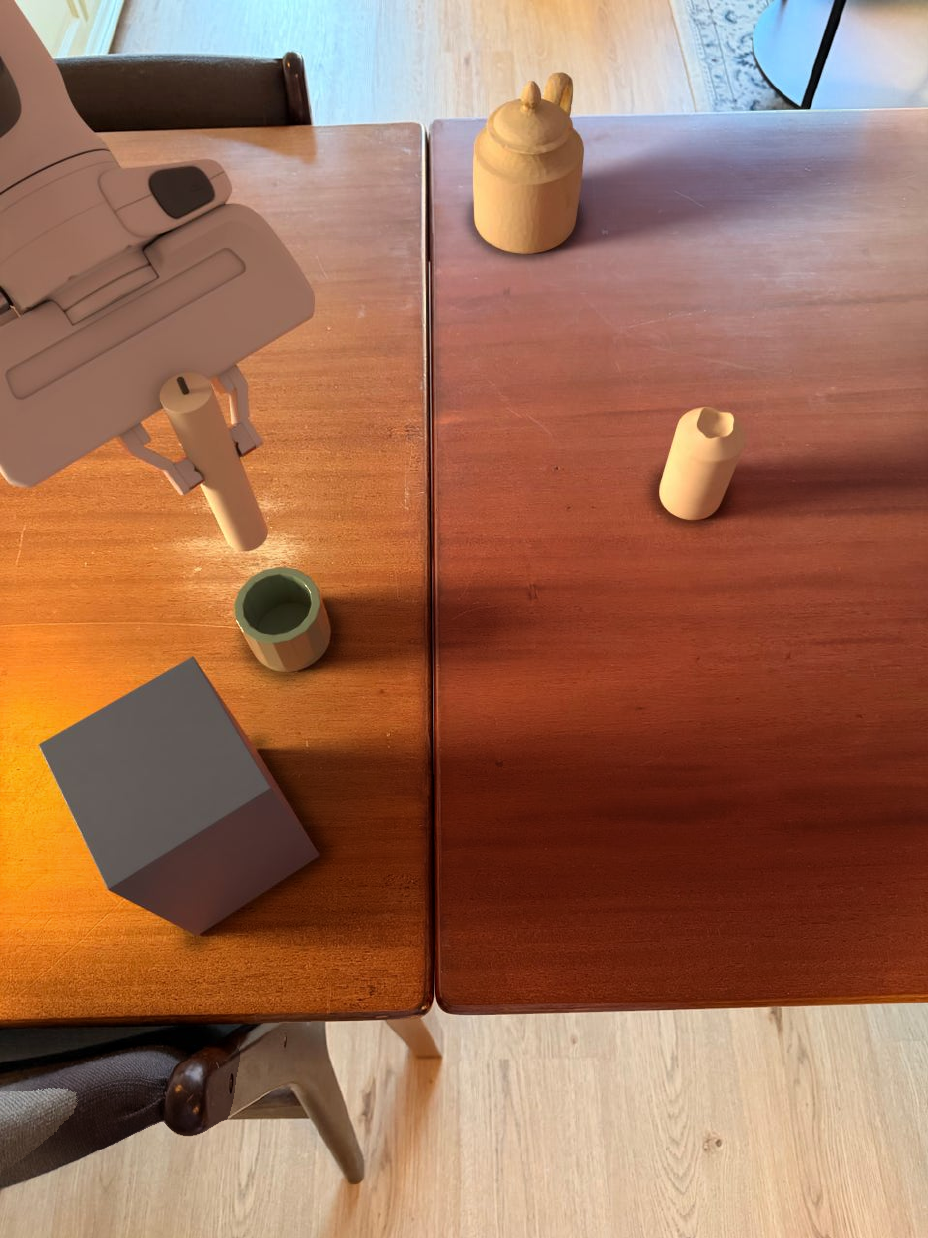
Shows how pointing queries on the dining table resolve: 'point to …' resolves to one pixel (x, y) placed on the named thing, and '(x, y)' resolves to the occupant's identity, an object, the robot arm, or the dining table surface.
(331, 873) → the dining table surface
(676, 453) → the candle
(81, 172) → the robot arm
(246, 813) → the riser
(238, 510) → the taper
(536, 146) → the sugar bowl
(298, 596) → the holder
